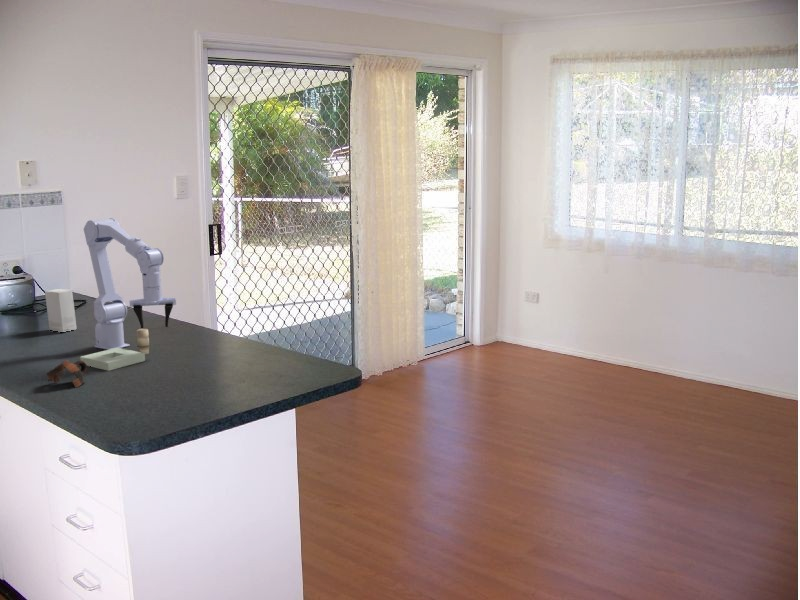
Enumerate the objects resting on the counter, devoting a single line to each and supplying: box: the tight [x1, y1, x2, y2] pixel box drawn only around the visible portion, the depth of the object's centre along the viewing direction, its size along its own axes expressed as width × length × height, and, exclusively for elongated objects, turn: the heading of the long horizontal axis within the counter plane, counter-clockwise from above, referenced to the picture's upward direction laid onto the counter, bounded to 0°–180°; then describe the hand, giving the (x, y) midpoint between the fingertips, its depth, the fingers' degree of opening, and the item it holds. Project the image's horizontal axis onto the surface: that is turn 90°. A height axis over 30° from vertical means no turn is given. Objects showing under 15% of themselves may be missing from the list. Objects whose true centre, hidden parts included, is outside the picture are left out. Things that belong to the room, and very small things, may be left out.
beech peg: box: [135, 328, 151, 355], centre depth 277 cm, size 4×4×8 cm
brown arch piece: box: [45, 359, 88, 388], centre depth 244 cm, size 12×10×8 cm
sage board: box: [79, 348, 146, 371], centre depth 267 cm, size 14×14×2 cm
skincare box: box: [44, 288, 78, 333], centre depth 311 cm, size 8×7×16 cm
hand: (154, 327), depth 273 cm, fingers open, 7 cm apart
